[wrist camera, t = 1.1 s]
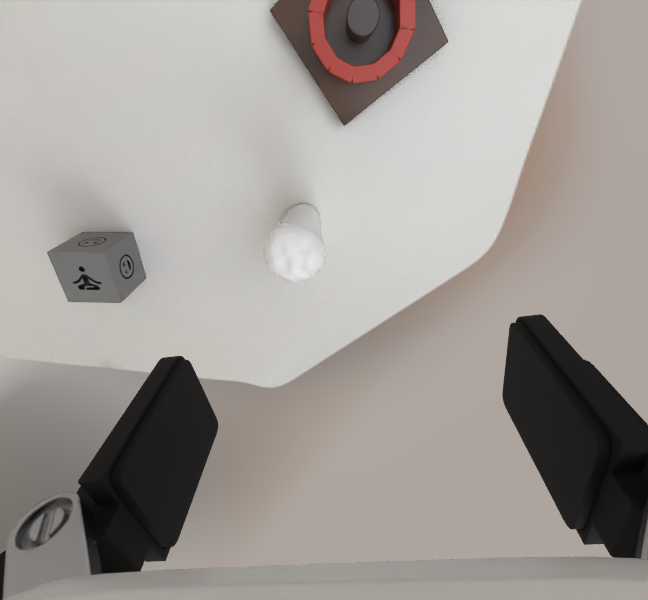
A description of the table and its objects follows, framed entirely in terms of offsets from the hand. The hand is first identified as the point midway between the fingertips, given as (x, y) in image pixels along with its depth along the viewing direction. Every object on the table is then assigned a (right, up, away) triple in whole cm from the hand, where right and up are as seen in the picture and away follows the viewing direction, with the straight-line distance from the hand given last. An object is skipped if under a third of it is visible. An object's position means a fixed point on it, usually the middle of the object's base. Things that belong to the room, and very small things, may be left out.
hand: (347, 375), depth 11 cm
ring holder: (+2, +22, +15) cm, 27 cm away
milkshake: (-3, +10, +23) cm, 25 cm away
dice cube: (-22, +7, +26) cm, 34 cm away
